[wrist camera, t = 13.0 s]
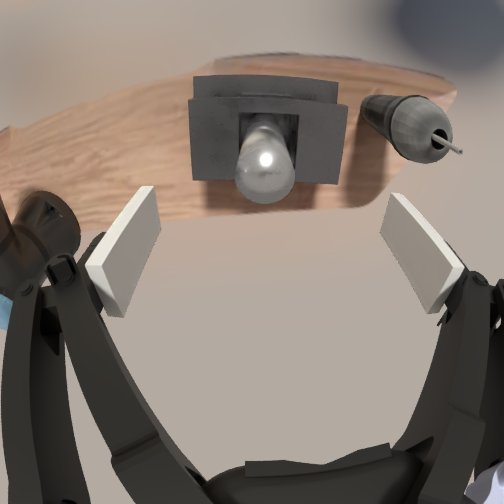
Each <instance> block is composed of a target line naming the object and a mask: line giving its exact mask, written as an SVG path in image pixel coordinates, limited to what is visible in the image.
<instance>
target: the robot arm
mask: <svg viewBox="0 0 504 504" xmlns="http://www.w3.org/2000/svg"><path fill="white" fill-rule="evenodd" d="M160 231H161V224H160V219H159V213H158V207H157V201H156V194H155V188H154V186H141V188H140V189H139V190H138V191H137V192H136V194H135V195H134V196H133V197H132V199H131V200H130V201H129V203H128V204H127V205H126V206H125V208H124V209H123V210H122V212H121V213H120V214H119V216H118V217H117V218H116V220H115V221H114V223H113V224H112V225H111V227H110V228H109V229H108V231H107V232H102V233H100V234H99V235H98V236H96V237H95V238H94V239H93V241H92V242H91V243H90V245H89V247H88V248H87V249H86V251H85V253H84V254H83V255H82V257H81V258H80V259H79V261H78V263H77V264H76V262H75V260H74V257H73V255H74V254H75V253H76V251H77V250H78V248H79V245H80V240H81V235H80V229H79V225H78V222H77V220H76V218H75V216H74V214H73V212H72V211H71V209H70V208H69V207H68V205H67V204H66V203H65V202H64V201H63V200H62V199H61V198H59V197H58V196H56V195H55V194H53V193H50V192H47V191H37V192H35V193H33V194H32V195H30V196H29V197H28V198H27V199H26V200H25V201H24V202H23V203H22V205H21V207H20V209H19V211H18V213H17V215H16V217H15V219H14V221H13V223H12V225H11V223H10V220H9V218H8V215H7V213H6V210H5V207H4V204H3V202H2V199H1V196H0V328H1V329H4V330H7V336H6V342H5V350H4V358H3V369H2V385H1V419H2V420H1V422H2V438H3V448H4V456H5V462H6V469H7V475H8V480H9V486H8V504H91V502H90V497H89V492H88V489H87V485H86V481H85V478H84V475H83V471H82V467H81V463H80V459H79V455H78V451H77V447H76V442H75V437H74V432H73V426H72V421H71V414H70V408H69V400H68V391H67V380H66V366H65V342H66V346H67V349H68V352H69V355H70V359H71V362H72V365H73V367H74V371H75V373H76V376H77V379H78V382H79V384H80V387H81V389H82V392H83V394H84V397H85V399H86V402H87V404H88V406H89V409H90V411H91V413H92V415H93V417H94V420H95V422H96V424H97V426H98V428H99V430H100V432H101V434H102V436H103V438H104V440H105V442H106V444H107V445H108V447H109V449H110V451H111V454H112V458H111V464H112V467H113V469H114V471H115V473H116V475H117V476H118V478H119V480H120V481H121V483H122V484H123V486H124V487H125V489H126V490H127V492H128V493H129V495H130V496H131V498H132V499H133V501H134V502H135V503H136V504H504V279H499V281H498V282H497V284H496V286H491V285H489V283H488V281H487V280H486V279H485V277H484V276H483V275H481V274H480V273H478V272H476V271H469V270H468V268H467V267H466V266H465V264H464V263H463V262H462V260H461V259H460V258H459V257H458V256H457V254H456V253H455V251H454V250H453V249H452V248H451V246H450V245H449V244H448V243H447V242H446V241H445V240H443V239H442V238H441V237H440V235H439V234H438V233H437V232H436V231H435V230H434V228H433V227H432V226H431V225H430V224H429V223H428V222H427V220H426V219H425V218H424V217H423V216H422V215H421V214H420V213H419V212H418V210H417V209H416V208H415V207H414V206H413V205H412V204H411V203H410V202H409V201H408V200H407V199H406V198H405V197H404V196H403V195H402V194H399V193H391V194H390V198H389V202H388V206H387V209H386V213H385V216H384V220H383V223H382V227H381V230H380V234H381V236H382V237H383V239H384V240H385V241H386V243H387V245H388V246H389V248H390V249H391V251H392V252H393V254H394V256H395V258H396V259H397V261H398V263H399V264H400V266H401V268H402V269H403V271H404V273H405V275H406V276H407V278H408V280H409V282H410V283H411V285H412V287H413V289H414V291H415V292H416V294H417V296H418V298H419V300H420V302H421V304H422V306H423V307H424V309H425V311H426V313H427V314H432V313H438V312H439V311H440V309H441V307H442V306H443V304H444V303H445V305H446V307H447V310H446V312H445V313H444V315H443V316H442V318H441V319H440V321H439V322H438V324H437V326H439V325H440V323H442V325H441V330H440V334H439V338H438V342H437V345H436V349H435V353H434V356H433V360H432V363H431V366H430V369H429V372H428V375H427V379H426V381H425V384H424V387H423V390H422V392H421V395H420V398H419V401H418V403H417V405H416V408H415V410H414V413H413V415H412V417H411V420H410V422H409V424H408V426H407V429H406V431H405V432H404V434H403V435H402V437H401V438H400V439H399V440H398V441H397V442H396V444H395V445H394V446H393V448H392V449H391V448H390V444H389V443H386V444H382V445H378V446H374V447H369V448H365V449H361V450H357V451H355V452H353V453H351V454H349V455H346V456H344V457H342V458H339V459H337V460H335V461H333V462H330V463H327V464H324V465H318V464H309V463H301V462H293V461H286V460H277V461H245V466H240V467H236V468H233V469H229V470H227V471H225V472H222V473H220V474H218V475H216V476H215V477H213V478H211V479H210V480H209V481H207V480H206V479H205V478H204V477H203V476H202V475H201V474H200V472H199V471H198V470H197V469H196V468H195V467H194V466H193V464H192V463H191V462H190V461H189V460H188V459H187V458H186V456H185V455H184V454H183V453H182V452H181V451H180V449H179V448H178V447H177V445H176V444H175V443H174V441H173V440H172V439H171V437H170V436H169V435H168V433H167V432H166V430H165V429H164V427H163V426H162V425H161V423H160V422H159V420H158V419H157V417H156V416H155V414H154V413H153V411H152V410H151V408H150V407H149V405H148V403H147V402H146V400H145V398H144V397H143V395H142V394H141V392H140V390H139V389H138V387H137V385H136V383H135V382H134V380H133V378H132V376H131V375H130V373H129V371H128V369H127V367H126V366H125V364H124V362H123V360H122V358H121V356H120V354H119V352H118V350H117V348H116V346H115V344H114V342H113V340H112V338H111V336H110V334H109V332H108V330H107V327H106V325H105V323H104V321H103V318H102V317H101V315H100V313H101V311H102V309H103V307H104V309H105V311H106V313H107V315H108V316H113V317H122V318H124V316H125V313H126V310H127V308H128V305H129V303H130V300H131V297H132V295H133V292H134V290H135V288H136V285H137V283H138V280H139V278H140V275H141V273H142V271H143V269H144V266H145V264H146V262H147V259H148V257H149V255H150V253H151V250H152V248H153V246H154V244H155V242H156V239H157V237H158V235H159V233H160ZM47 277H48V279H49V281H50V283H51V285H50V286H45V287H41V286H42V284H43V283H44V281H45V280H46V278H47ZM500 318H501V325H500V326H499V327H498V328H497V329H496V324H497V322H498V321H499V319H500ZM478 416H479V417H478ZM473 468H474V483H471V484H470V485H469V486H468V487H467V485H468V482H469V479H470V477H471V474H472V471H473ZM466 487H467V489H466ZM465 489H466V495H464V492H465ZM470 498H471V499H470Z"/></svg>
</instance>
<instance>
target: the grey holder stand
mask: <svg viewBox="0 0 504 504" xmlns="http://www.w3.org/2000/svg"><path fill="white" fill-rule="evenodd" d="M193 85H194V98H192V99H189V100H188V106H189V129H190V147H191V162H192V176H193V180H235V170H236V166H237V162H238V159H239V155H240V151H241V148H242V144H243V141H244V137H245V134H246V130H247V127H248V123H249V121H250V119H251V118H252V117H253V116H254V115H256V114H259V113H268V114H271V115H273V116H274V117H275V118H276V119H277V121H278V123H279V125H280V128H281V131H282V134H283V137H284V140H285V143H286V146H287V149H288V152H289V155H290V158H291V162H292V165H293V168H294V172H295V181H294V182H306V183H322V184H335V185H338V180H339V174H340V167H341V160H342V154H343V146H344V139H345V131H346V123H347V114H348V106H346V105H342V104H337V95H338V82H332V81H325V80H318V79H309V78H299V77H288V76H272V75H211V76H195V77H193Z"/></svg>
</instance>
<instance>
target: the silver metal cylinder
mask: <svg viewBox="0 0 504 504" xmlns="http://www.w3.org/2000/svg"><path fill="white" fill-rule="evenodd" d="M294 181H295V172H294V168H293V165H292V162H291V158H290V155H289V152H288V149H287V146H286V143H285V140H284V137H283V134H282V131H281V128H280V125H279V123H278V121H277V119H276V118H275V117H274V116H273V115H271V114H268V113H259V114H256V115H254V116H253V117H252V118H251V119H250V121H249V123H248V127H247V130H246V134H245V137H244V141H243V144H242V148H241V151H240V155H239V159H238V162H237V166H236V170H235V183H236V186H237V188H238V190H239V191H240V193H241V194H242V195H243V196H244V197H245V198H247V199H248V200H250V201H252V202H255V203H259V204H271V203H275V202H277V201H280V200H281V199H283V198H284V197H286V196H287V195H288V194H289V192H290V191H291V189H292V187H293V185H294Z"/></svg>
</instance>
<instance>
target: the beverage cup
mask: <svg viewBox="0 0 504 504" xmlns="http://www.w3.org/2000/svg"><path fill="white" fill-rule="evenodd" d="M361 115H362V117H363V119H364V120H365V121H366V122H367V123H368V124H369V125H370V126H371V127H373V128H374V129H375V130H376V131H378V132H379V133H380V134H381V135H383V136H384V137H385V138H386V139H387V140H388V141H389V142H390V143H391V144H392V145H393V147H394V149H395V150H396V151H397V152H398V153H399V154H400V156H402V157H404V158H406V159H407V160H411V161H414V162H418V163H424V164H428V163H433V162H437V161H438V160H440V159H442V158H443V157H444V156H445V155H446V154H447V153H448V151H449V149H451V150H452V151H454V152H456V153H457V154H459V155H462V154H463V150H462V149H460V148H459V147H457V146H455V145H453V144H452V138H453V137H452V127H451V124H450V121H449V119H448V117H447V115H446V114H445V113H444V111H443V110H442V109H441V108H440V107H439V106H438V105H436V104H435V103H434V102H432V101H431V100H429V99H428V98H426V97H423V96H420V95H411V96H405V97H402V96H392V95H370V96H368V97H366V98H365V99H364V100H363V101H362V104H361Z"/></svg>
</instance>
